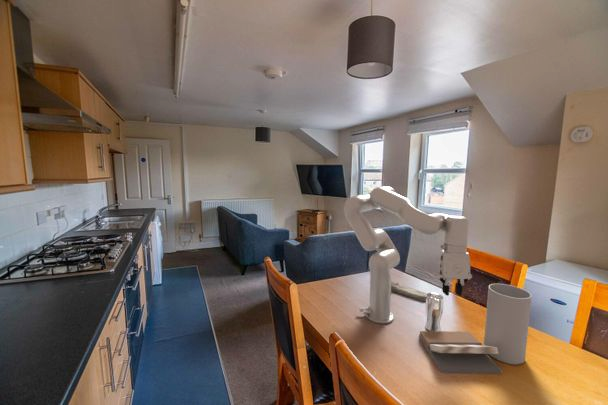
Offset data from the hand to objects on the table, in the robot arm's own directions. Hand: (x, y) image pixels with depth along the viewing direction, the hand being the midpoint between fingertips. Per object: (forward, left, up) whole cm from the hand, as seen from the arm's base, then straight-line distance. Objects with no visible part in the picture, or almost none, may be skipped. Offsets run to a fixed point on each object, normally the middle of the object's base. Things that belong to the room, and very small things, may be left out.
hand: (451, 293), depth 103 cm
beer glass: (-1, +11, -22) cm, 24 cm away
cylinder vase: (+18, -5, -22) cm, 28 cm away
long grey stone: (-3, +48, -22) cm, 53 cm away
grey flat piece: (0, -5, -21) cm, 22 cm away
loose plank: (0, -10, -17) cm, 20 cm away
